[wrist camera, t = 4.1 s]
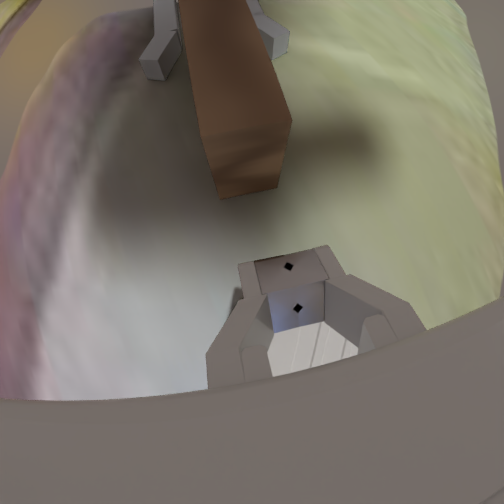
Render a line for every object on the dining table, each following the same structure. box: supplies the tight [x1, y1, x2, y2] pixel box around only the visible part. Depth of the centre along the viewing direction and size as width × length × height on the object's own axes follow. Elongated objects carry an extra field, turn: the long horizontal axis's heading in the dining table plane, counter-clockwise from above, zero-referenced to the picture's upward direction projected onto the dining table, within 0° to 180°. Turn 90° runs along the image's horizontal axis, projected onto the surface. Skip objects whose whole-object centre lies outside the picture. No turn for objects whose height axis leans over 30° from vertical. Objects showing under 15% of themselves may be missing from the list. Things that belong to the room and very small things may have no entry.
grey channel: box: [139, 0, 290, 81], centre depth 20 cm, size 11×14×4 cm
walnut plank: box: [178, 0, 292, 200], centre depth 16 cm, size 4×12×8 cm, turn 13°
